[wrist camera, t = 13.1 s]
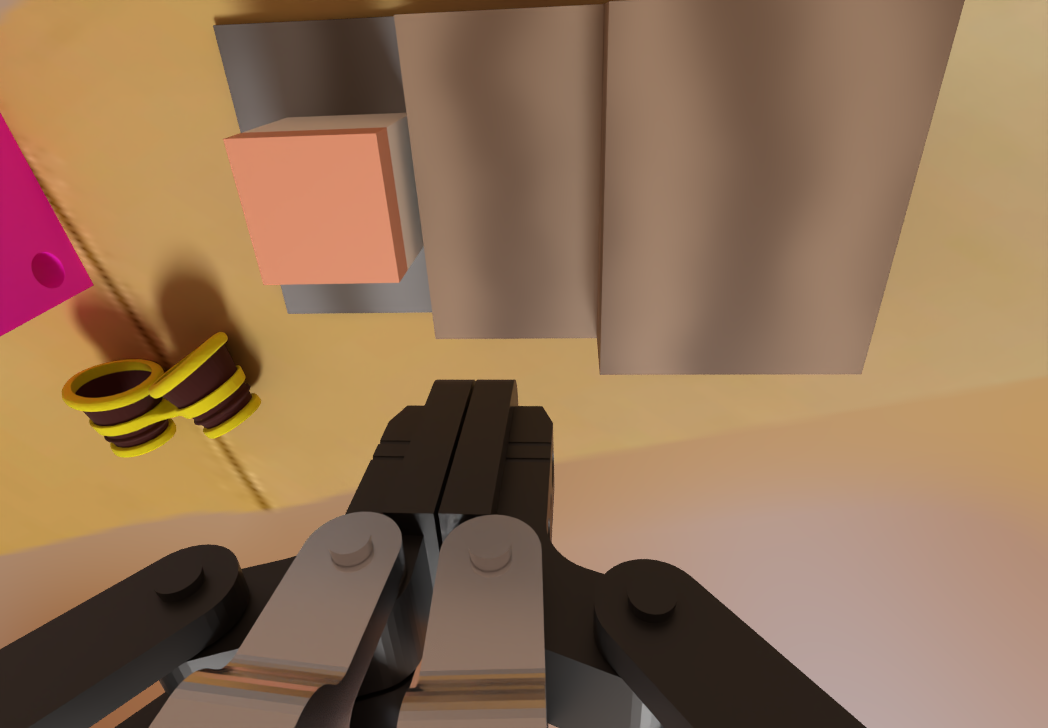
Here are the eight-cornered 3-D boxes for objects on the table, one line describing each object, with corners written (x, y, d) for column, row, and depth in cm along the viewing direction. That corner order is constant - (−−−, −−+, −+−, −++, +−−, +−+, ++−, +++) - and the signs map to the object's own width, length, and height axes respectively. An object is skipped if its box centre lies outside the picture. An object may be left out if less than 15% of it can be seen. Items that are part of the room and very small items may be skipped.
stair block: (870, -8, 24) (969, -17, 18) (805, 306, 31) (861, 374, 25) (216, 25, 27) (112, 26, 21) (290, 311, 34) (228, 375, 28)
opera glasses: (150, 424, 39) (97, 475, 34) (99, 355, 36) (35, 400, 32) (281, 393, 37) (243, 442, 32) (237, 317, 34) (189, 360, 30)
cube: (223, 139, 23) (287, 117, 28) (263, 284, 26) (314, 241, 31) (376, 133, 22) (412, 112, 28) (399, 282, 25) (428, 238, 31)
